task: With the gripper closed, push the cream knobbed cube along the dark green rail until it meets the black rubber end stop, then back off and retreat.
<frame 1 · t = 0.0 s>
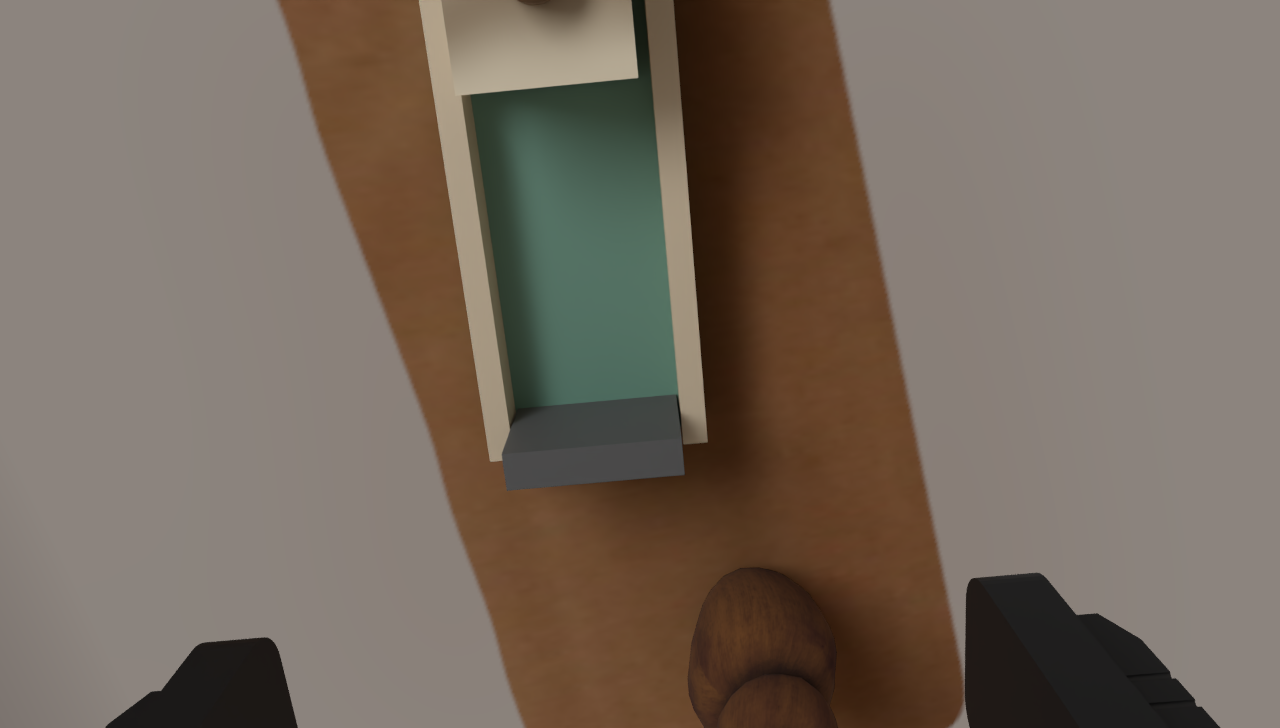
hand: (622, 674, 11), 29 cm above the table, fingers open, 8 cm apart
wooden figurine: (748, 606, 44), on the table
rail: (570, 148, 38), on the table
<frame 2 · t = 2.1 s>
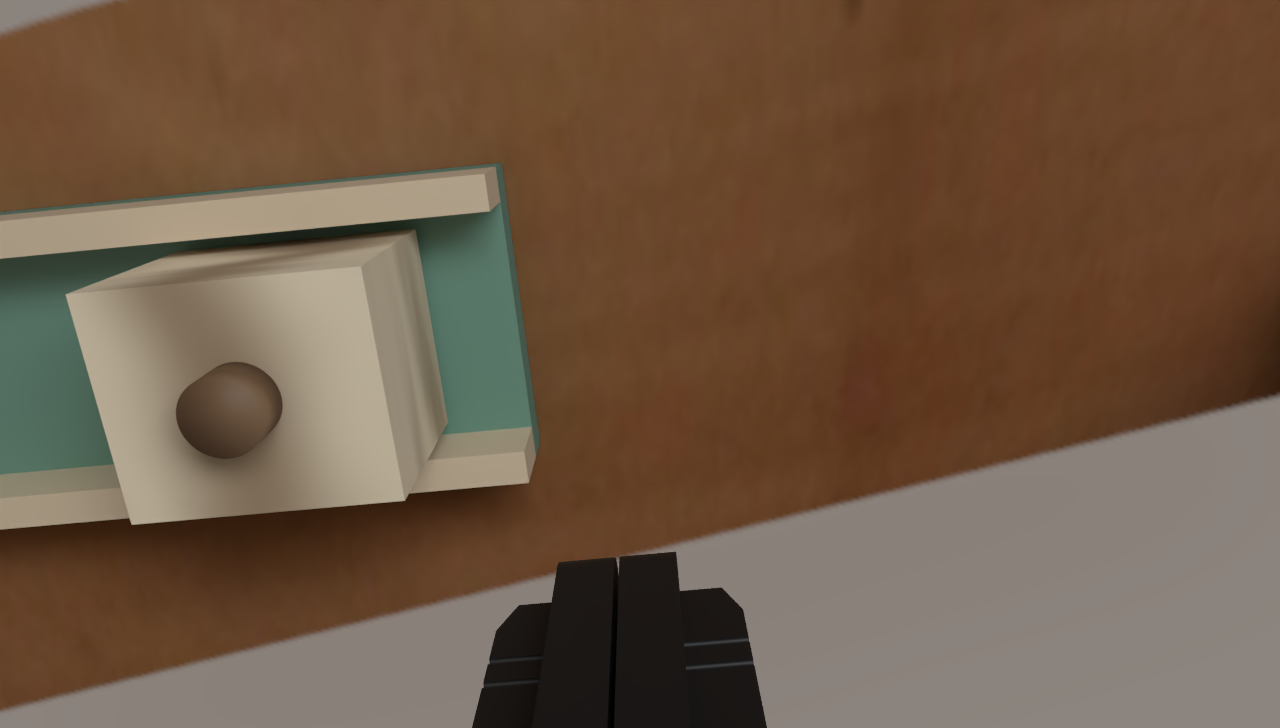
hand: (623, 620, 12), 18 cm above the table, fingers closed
cream knobbed cube: (274, 373, 24), point 5 cm above the table, slide at 0.0 cm
rail: (145, 343, 29), on the table
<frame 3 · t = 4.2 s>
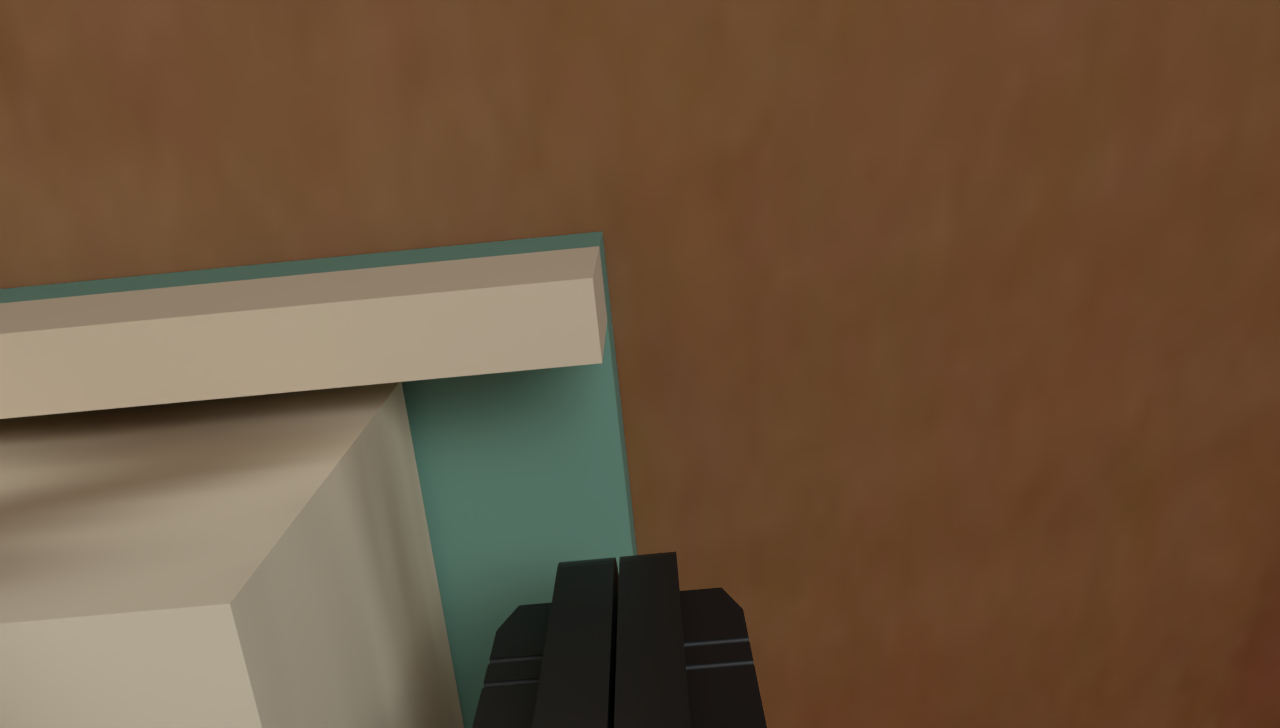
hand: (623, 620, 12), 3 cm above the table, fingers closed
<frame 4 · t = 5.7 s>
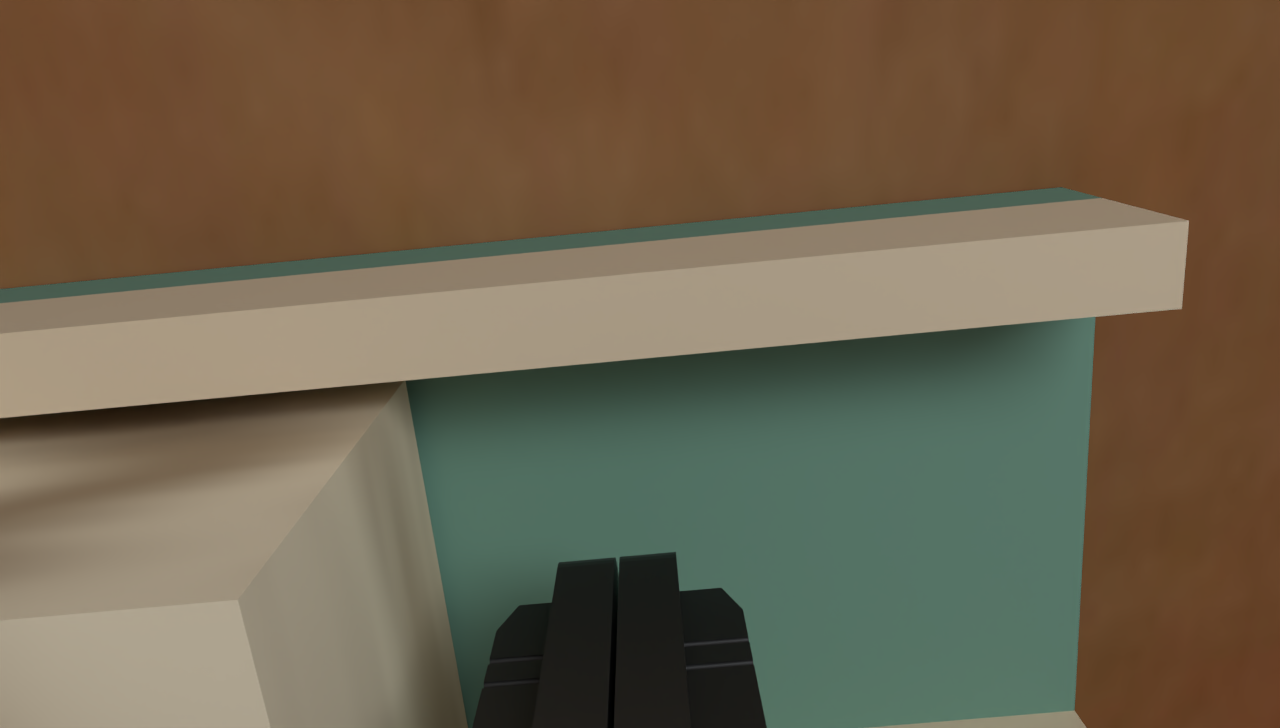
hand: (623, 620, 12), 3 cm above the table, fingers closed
rail: (299, 541, 15), on the table
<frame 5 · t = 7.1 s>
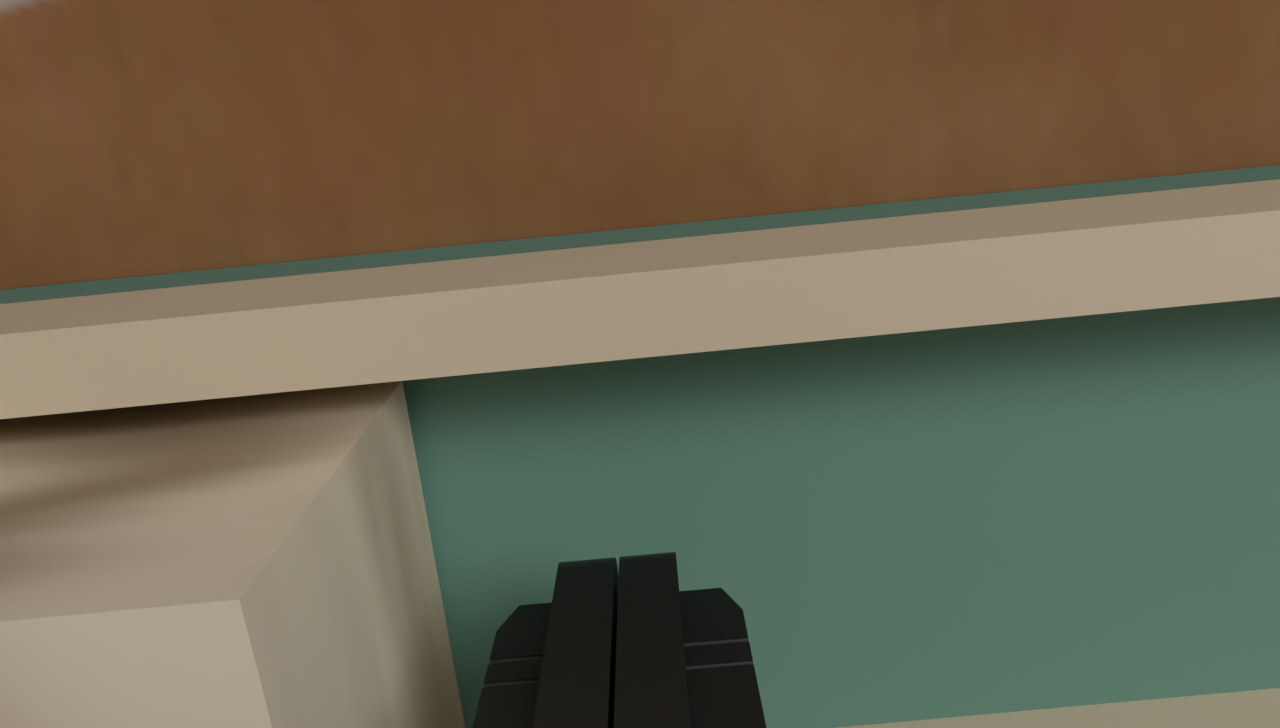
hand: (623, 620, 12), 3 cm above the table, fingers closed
rail: (673, 506, 15), on the table
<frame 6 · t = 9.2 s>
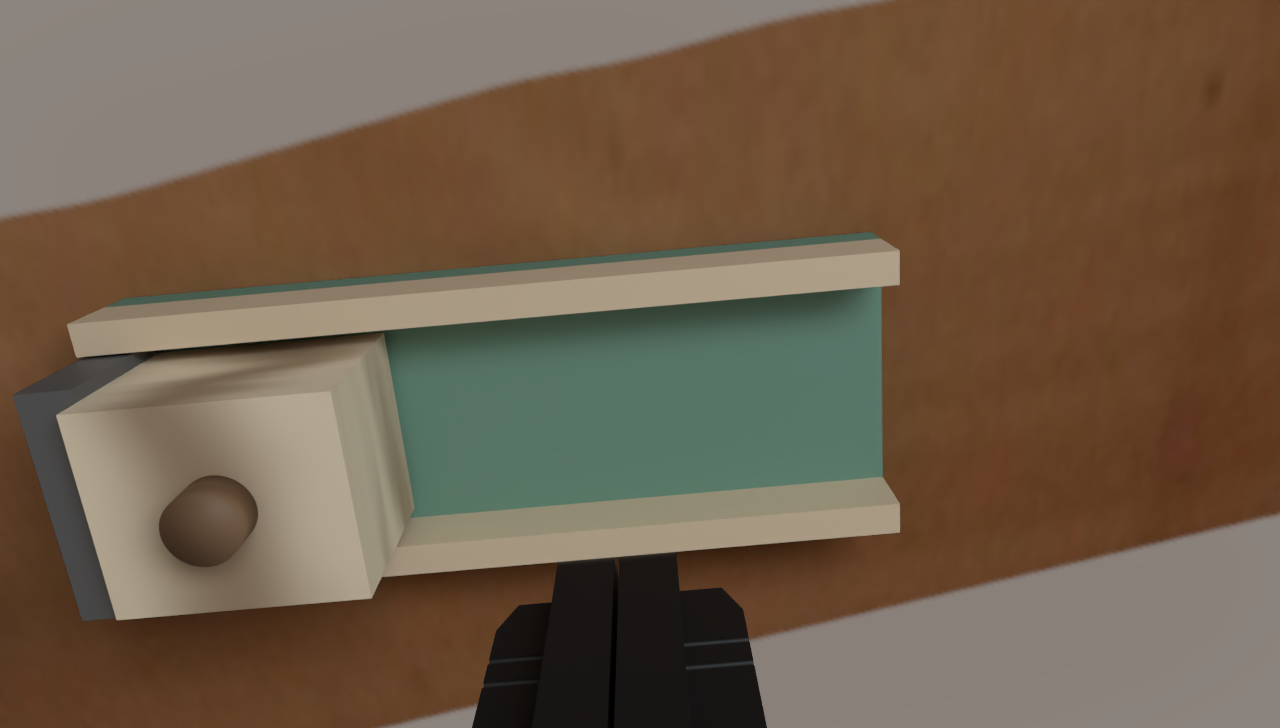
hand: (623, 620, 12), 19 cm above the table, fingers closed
cream knobbed cube: (250, 476, 26), point 5 cm above the table, slide at 13.0 cm, touching rail
rail: (514, 397, 31), on the table
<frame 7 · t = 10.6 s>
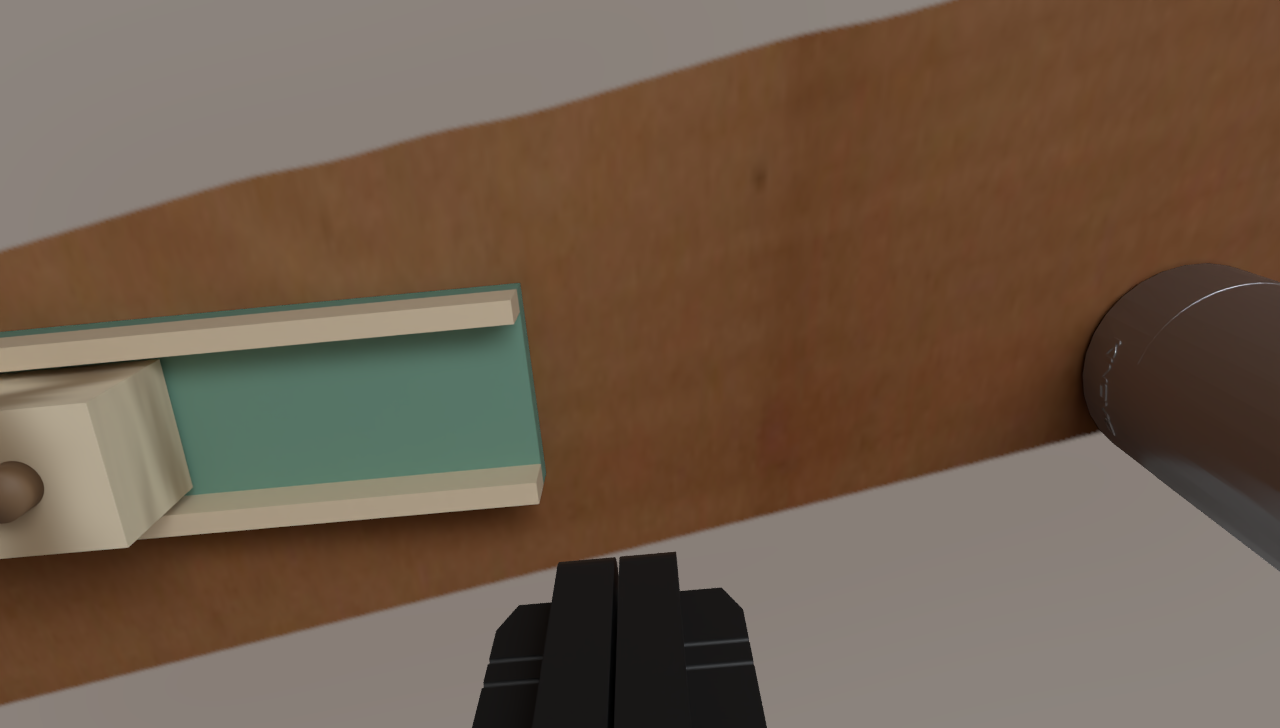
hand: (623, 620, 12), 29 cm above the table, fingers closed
cream knobbed cube: (51, 462, 37), point 5 cm above the table, slide at 13.0 cm, touching rail
rail: (268, 405, 42), on the table
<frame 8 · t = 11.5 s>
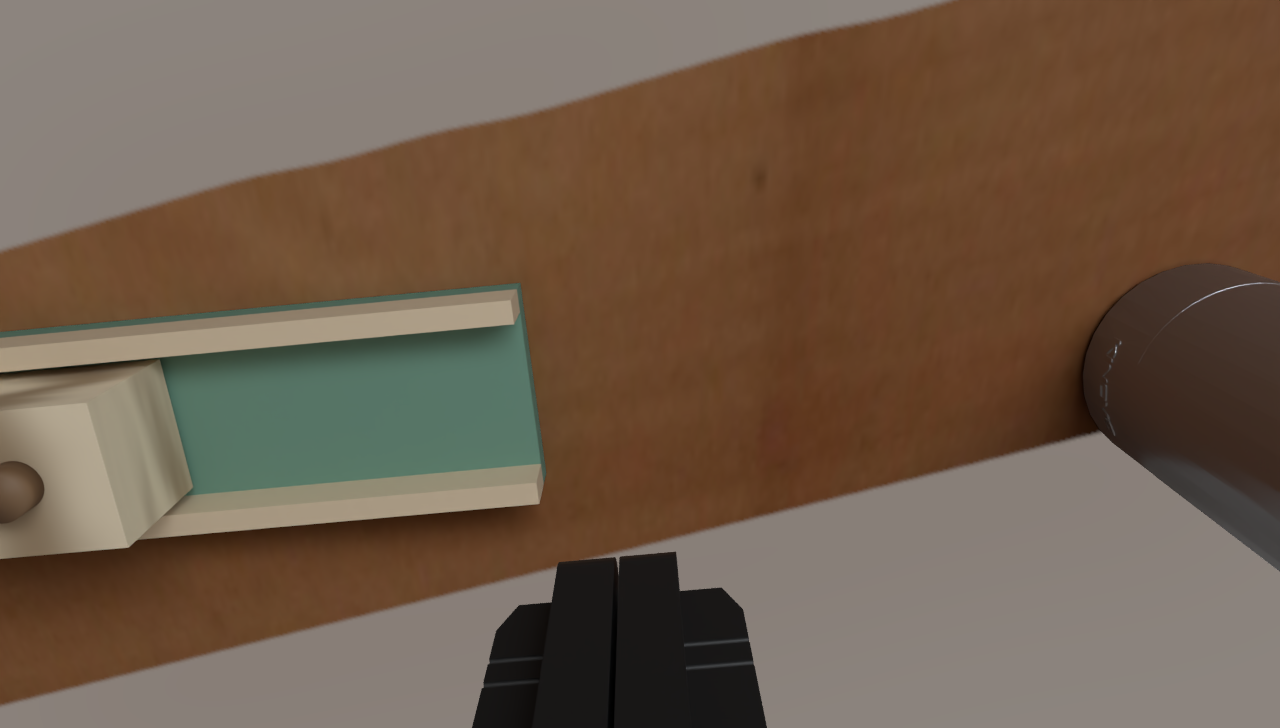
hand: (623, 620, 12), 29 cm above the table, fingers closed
cream knobbed cube: (51, 462, 37), point 5 cm above the table, slide at 13.0 cm, touching rail
rail: (269, 405, 42), on the table
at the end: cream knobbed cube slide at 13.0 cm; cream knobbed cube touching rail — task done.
